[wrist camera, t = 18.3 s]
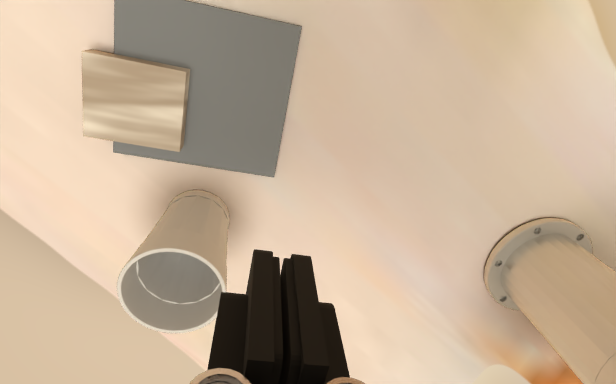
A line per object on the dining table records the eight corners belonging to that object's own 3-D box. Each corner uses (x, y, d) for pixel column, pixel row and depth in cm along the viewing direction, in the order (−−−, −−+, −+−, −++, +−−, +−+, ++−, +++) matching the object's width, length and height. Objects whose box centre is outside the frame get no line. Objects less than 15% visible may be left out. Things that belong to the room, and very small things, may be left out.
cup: (162, 175, 38) (119, 239, 27) (243, 190, 39) (234, 257, 29) (154, 244, 41) (113, 327, 30) (230, 256, 43) (217, 339, 32)
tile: (81, 51, 31) (83, 136, 33) (186, 71, 32) (179, 152, 35) (91, 49, 32) (92, 130, 35) (190, 69, 34) (183, 145, 36)
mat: (301, 26, 34) (301, 26, 33) (274, 175, 39) (274, 177, 38) (117, -15, 31) (114, -16, 31) (115, 150, 37) (113, 152, 36)
